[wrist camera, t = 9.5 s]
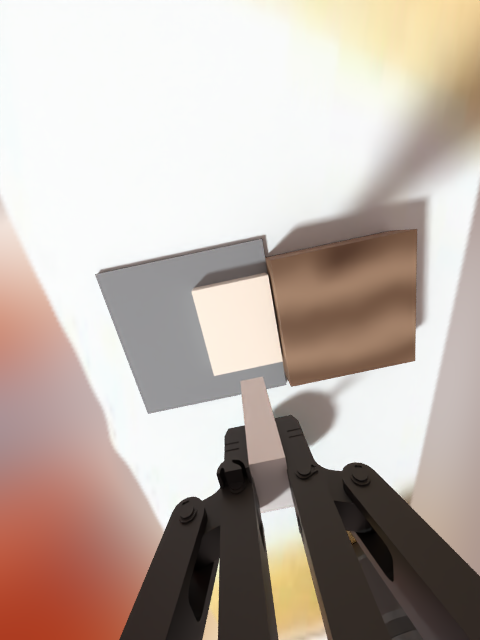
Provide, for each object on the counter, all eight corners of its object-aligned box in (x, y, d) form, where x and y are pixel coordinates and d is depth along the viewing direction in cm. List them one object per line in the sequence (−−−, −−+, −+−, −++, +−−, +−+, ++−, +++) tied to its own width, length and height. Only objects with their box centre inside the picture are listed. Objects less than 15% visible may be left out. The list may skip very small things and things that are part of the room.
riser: (392, 346, 32) (415, 360, 28) (283, 369, 32) (291, 386, 28) (390, 230, 27) (417, 229, 24) (264, 257, 27) (270, 260, 24)
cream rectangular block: (279, 354, 30) (282, 361, 29) (214, 367, 31) (214, 376, 29) (265, 272, 27) (268, 275, 26) (193, 287, 27) (191, 291, 26)
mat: (285, 382, 32) (286, 384, 32) (149, 411, 32) (148, 413, 32) (261, 238, 27) (261, 238, 26) (97, 273, 27) (95, 274, 26)
